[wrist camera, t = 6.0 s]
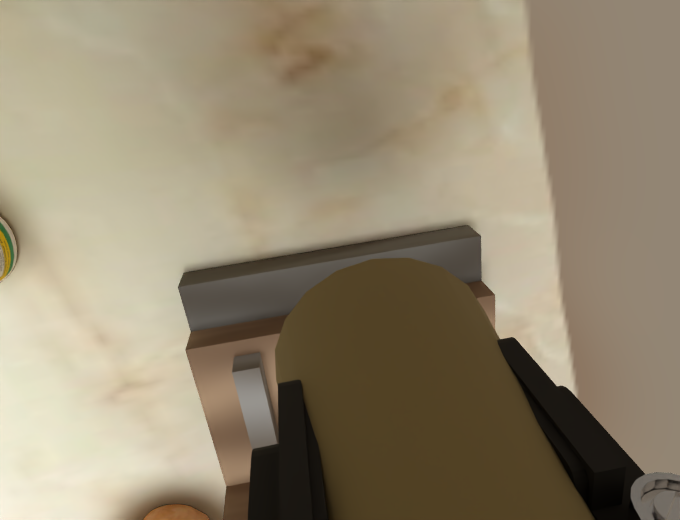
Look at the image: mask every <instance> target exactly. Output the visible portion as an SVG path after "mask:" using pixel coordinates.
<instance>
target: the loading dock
mask: <svg viewBox="0 0 680 520" xmlns="http://www.w3.org/2000/svg"><path fill="white" fill-rule="evenodd" d="M382 258H412V259H415V260H419V261H422V262H426V263H430V264H433V265H437V266H440V267H443V268H444V269H445V270H447V271H448V272H450V273H451V274H453V275H454V276H455V277H457V278H458V279H460V280H461V281H462V282H464V283H465V284H467V285H468V286H469V288H470V289H471V291H472V292H473V294H474V295H475V297H476V298H477V300H478V301H479V303H480V304H481V306H482V307H483V309H484V310H485V312H486V314H487V316H488V318H489V320H490V322H491V324H492V326H493V327H494V329H495V294H494V293H493V292H492V291H491V290H490V289H489V288H488V287H487V286H486V285H485V284H484V283H483V282H482V281H481V236H480V235H479V234H478V233H477V232H476V231H475V230H473V229H472V228H471V227H470V226H469V225H468V226H462V227H456V228H450V229H444V230H438V231H432V232H426V233H420V234H414V235H408V236H402V237H396V238H390V239H384V240H378V241H372V242H366V243H360V244H354V245H348V246H342V247H336V248H330V249H324V250H318V251H312V252H306V253H301V254H295V255H289V256H283V257H277V258H271V259H265V260H259V261H253V262H247V263H241V264H235V265H229V266H223V267H217V268H211V269H205V270H199V271H193V272H187V273H184V274H183V276H182V279H181V281H180V283H179V286H178V289H179V292H180V296H181V299H182V303H183V306H184V310H185V313H186V316H187V320H188V323H189V327H190V330H191V333H190V337H189V340H188V343H187V347H186V353H187V357H188V360H189V363H190V367H191V370H192V373H193V377H194V380H195V383H196V387H197V390H198V393H199V397H200V400H201V403H202V407H203V410H204V413H205V417H206V420H207V423H208V427H209V430H210V433H211V437H212V440H213V443H214V447H215V450H216V453H217V457H218V460H219V463H220V467H221V470H222V473H223V477H224V480H225V483H226V496H225V506H224V515H223V520H248V503H249V486H250V468H251V454H252V450H253V449H255V448H260V447H265V446H270V445H274V444H279V438H278V386H277V382H276V366H275V348H276V345H277V342H278V339H279V336H280V333H281V330H282V327H283V324H284V321H285V319H286V318H287V316H288V315H289V314H290V312H291V311H292V310H293V308H294V307H295V306H296V305H297V303H298V302H299V301H300V299H301V298H302V297H303V295H304V294H305V293H306V292H307V291H308V290H310V289H311V288H313V287H314V286H315V285H317V284H318V283H320V282H321V281H323V280H324V279H325V278H327V277H328V276H330V275H331V274H333V273H334V272H335V271H337V270H340V269H343V268H346V267H349V266H352V265H355V264H358V263H361V262H364V261H367V260H370V259H382Z"/></svg>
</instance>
